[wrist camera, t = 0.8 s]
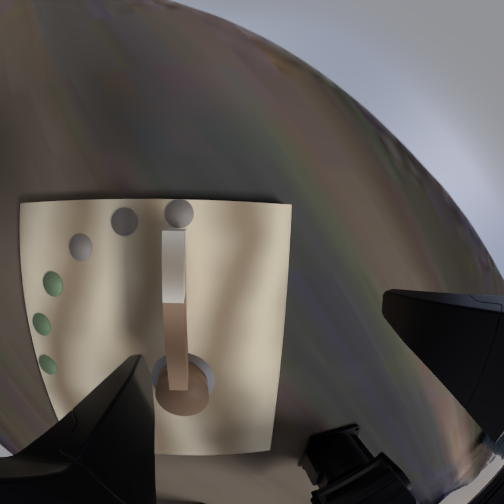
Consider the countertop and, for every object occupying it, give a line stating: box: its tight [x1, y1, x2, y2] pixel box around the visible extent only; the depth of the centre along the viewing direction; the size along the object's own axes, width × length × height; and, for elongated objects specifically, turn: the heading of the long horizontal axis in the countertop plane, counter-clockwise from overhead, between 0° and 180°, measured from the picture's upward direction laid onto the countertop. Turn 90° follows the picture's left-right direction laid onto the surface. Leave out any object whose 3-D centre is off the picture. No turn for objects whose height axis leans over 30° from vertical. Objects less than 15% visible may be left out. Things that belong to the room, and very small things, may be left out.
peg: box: [155, 228, 209, 416], centre depth 17 cm, size 14×4×4 cm, turn 177°
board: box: [20, 199, 292, 455], centre depth 20 cm, size 22×24×1 cm
